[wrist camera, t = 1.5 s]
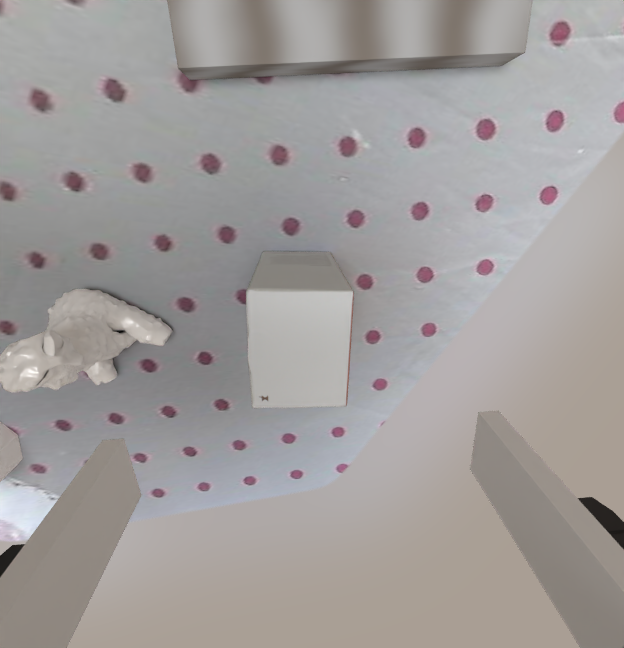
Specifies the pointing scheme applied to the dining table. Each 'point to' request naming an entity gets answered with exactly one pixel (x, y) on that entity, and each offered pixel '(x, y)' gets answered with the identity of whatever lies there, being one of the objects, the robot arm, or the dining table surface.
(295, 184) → the dining table surface
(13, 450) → the mug
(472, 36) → the wall board
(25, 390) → the sitting furry creature
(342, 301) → the small box
